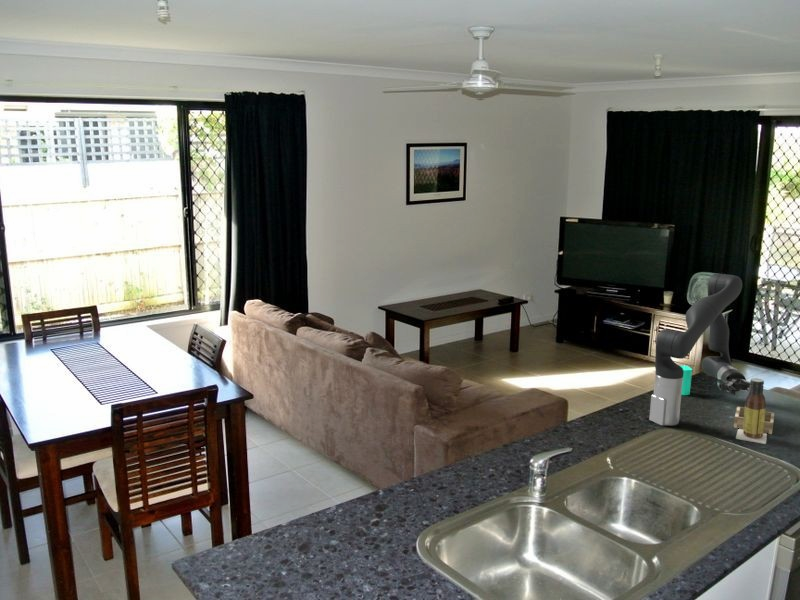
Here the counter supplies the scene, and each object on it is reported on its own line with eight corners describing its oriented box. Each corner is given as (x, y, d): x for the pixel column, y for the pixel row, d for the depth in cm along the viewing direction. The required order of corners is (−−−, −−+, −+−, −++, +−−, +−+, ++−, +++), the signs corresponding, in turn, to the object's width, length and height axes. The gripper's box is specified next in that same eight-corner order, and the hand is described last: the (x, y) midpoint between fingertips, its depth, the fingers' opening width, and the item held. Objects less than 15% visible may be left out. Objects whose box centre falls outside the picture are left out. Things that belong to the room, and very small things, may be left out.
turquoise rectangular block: (676, 389, 289) (678, 361, 286) (691, 392, 285) (694, 363, 283) (672, 393, 284) (674, 364, 282) (687, 396, 281) (690, 367, 278)
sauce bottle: (758, 432, 244) (765, 377, 240) (765, 439, 238) (772, 383, 234) (738, 431, 244) (745, 376, 240) (745, 438, 238) (752, 382, 234)
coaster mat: (765, 444, 235) (765, 443, 235) (735, 438, 239) (736, 437, 239) (766, 435, 243) (767, 433, 243) (738, 429, 247) (738, 428, 247)
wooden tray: (771, 434, 243) (773, 423, 242) (733, 427, 249) (734, 416, 248) (773, 423, 253) (774, 412, 253) (736, 416, 259) (737, 406, 258)
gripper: (712, 367, 262) (727, 381, 246) (752, 369, 260) (770, 383, 244) (710, 387, 263) (724, 402, 247) (750, 388, 262) (767, 404, 246)
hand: (747, 392), depth 246 cm, fingers open, 8 cm apart
